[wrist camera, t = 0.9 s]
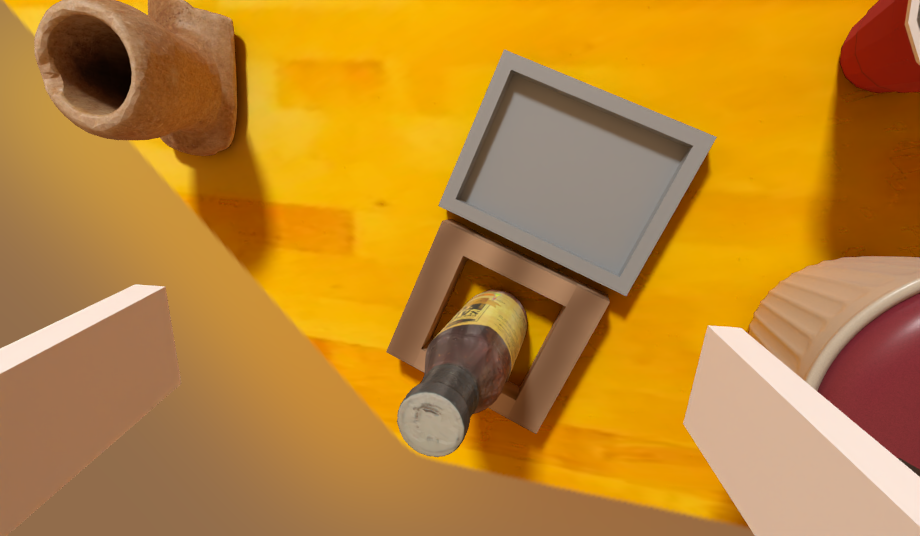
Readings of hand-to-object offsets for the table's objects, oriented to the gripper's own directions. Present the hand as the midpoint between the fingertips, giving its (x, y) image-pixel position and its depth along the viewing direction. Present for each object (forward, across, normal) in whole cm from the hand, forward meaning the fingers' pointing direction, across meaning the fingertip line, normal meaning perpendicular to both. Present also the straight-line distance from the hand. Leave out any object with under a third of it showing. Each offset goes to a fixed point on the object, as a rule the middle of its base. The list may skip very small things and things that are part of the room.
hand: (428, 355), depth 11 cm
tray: (+31, -8, -1) cm, 32 cm away
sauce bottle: (+31, -3, +13) cm, 33 cm away
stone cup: (+40, +28, -8) cm, 49 cm away
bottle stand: (+30, -3, +13) cm, 33 cm away
